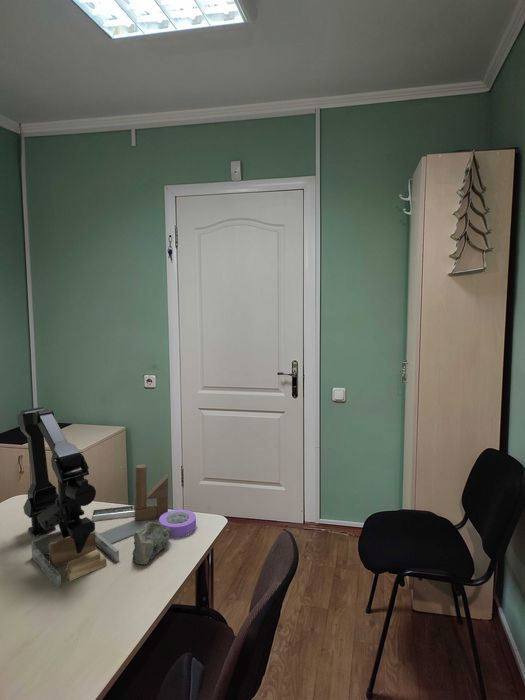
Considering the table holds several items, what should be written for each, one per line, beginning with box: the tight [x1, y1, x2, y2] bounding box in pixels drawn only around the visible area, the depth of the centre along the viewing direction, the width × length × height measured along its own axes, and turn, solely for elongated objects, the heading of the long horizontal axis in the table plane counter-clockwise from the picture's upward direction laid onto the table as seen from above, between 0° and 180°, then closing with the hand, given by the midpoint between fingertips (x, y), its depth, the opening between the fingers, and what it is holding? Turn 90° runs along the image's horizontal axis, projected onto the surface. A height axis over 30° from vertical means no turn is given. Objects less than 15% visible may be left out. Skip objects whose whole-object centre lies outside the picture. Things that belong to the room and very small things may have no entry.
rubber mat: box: [98, 519, 147, 545], centre depth 142 cm, size 8×14×1 cm, turn 135°
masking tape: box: [158, 509, 197, 539], centre depth 144 cm, size 12×12×4 cm
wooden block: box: [134, 464, 169, 521], centre depth 150 cm, size 4×11×18 cm, turn 105°
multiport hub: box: [91, 505, 135, 522], centre depth 153 cm, size 4×14×2 cm, turn 104°
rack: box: [30, 529, 120, 588], centre depth 127 cm, size 19×17×5 cm
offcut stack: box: [64, 549, 107, 582], centre depth 122 cm, size 3×10×4 cm, turn 134°
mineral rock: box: [132, 521, 171, 565], centre depth 130 cm, size 13×11×10 cm
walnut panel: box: [48, 531, 97, 569], centre depth 128 cm, size 3×12×6 cm, turn 135°
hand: (72, 546), depth 128 cm, fingers open, 9 cm apart
